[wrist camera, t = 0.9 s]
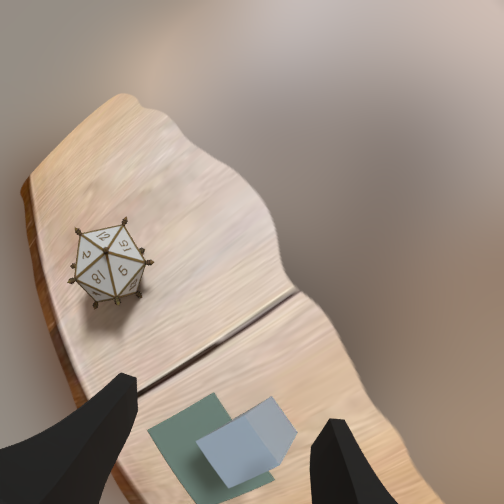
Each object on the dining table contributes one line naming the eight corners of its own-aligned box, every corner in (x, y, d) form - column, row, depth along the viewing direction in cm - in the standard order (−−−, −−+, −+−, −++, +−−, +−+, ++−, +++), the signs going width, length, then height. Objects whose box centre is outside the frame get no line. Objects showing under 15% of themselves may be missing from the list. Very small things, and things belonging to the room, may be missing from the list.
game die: (148, 298, 35) (80, 337, 26) (111, 238, 35) (41, 265, 27) (188, 262, 29) (105, 306, 21) (143, 192, 30) (57, 215, 22)
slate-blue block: (297, 432, 23) (279, 465, 16) (259, 453, 23) (228, 488, 16) (271, 396, 24) (244, 414, 17) (234, 418, 25) (195, 441, 17)
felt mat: (274, 479, 22) (274, 480, 22) (201, 508, 22) (200, 509, 22) (213, 392, 26) (213, 392, 26) (148, 429, 26) (147, 430, 26)
